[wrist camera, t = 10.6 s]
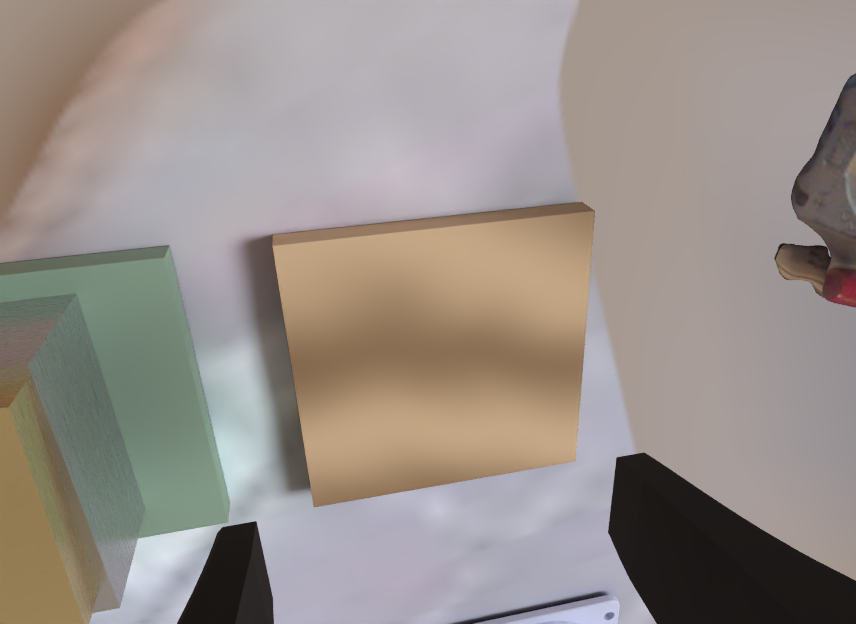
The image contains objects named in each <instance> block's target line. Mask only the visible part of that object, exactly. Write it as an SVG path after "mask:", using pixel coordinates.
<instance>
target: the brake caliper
mask: <svg viewBox="0 0 856 624" xmlns="http://www.w3.org/2000/svg"><path fill="white" fill-rule="evenodd" d="M791 200H792V206H793V209H794V211H795V213H796V215H797V218H798V219H799V220H801V221H803V222H804V223H805V224H807V225H808V226H809V227H811V228H812V229H813V230H814V231H815V232H817V233H818V234H819V235H820V236H821V237H822V239H823V240H824V241H825V243H826V245H827V247H828V248H827V247H826V246H821V245H814V246H803V245H795V244H786V243H782V244H780V245H779V247H778V250H777V253H776V255H775V257H774V259H775V261H776V264H777V267H778V270H779V273H780V274H781V275H782V276H783V278H784V279H786V280H805V281H809V282H810V283H811V284H812V285H813V287H814V289H815V292H816V293H817V294H819V295H820V296H822V297H823V298H825V299H827V300H828V301H831V302H834V303H838V304H842V305H847V306H851V307H856V74H854V75H852V76H851V77H850V78H849V79H848V80H847V82H846V84H845V85H844V87H843V90H842V92H841V94H840V97H839V99H838V101H837V103H836V105H835V107H834V109H833V111H832V113H831V116H830V118H829V121H828V123H827V125H826V127H825V129H824V131H823V133H822V135H821V137H820V139H819V142H818V145H817V148H816V150H815V153H814V155H813V156H812V158H811V159H810V160H809V161H808V162H807V163H806V165H805V166H804V167H803V169H802V170H801V171H800V173H799V174H798V176H797V178H796V180H795V183H794V186H793V189H792V194H791ZM828 249H829V251H830V255H831V257H830V256H829V254H828Z"/></svg>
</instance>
